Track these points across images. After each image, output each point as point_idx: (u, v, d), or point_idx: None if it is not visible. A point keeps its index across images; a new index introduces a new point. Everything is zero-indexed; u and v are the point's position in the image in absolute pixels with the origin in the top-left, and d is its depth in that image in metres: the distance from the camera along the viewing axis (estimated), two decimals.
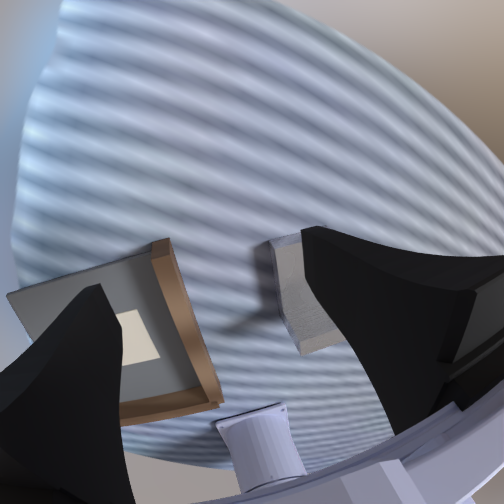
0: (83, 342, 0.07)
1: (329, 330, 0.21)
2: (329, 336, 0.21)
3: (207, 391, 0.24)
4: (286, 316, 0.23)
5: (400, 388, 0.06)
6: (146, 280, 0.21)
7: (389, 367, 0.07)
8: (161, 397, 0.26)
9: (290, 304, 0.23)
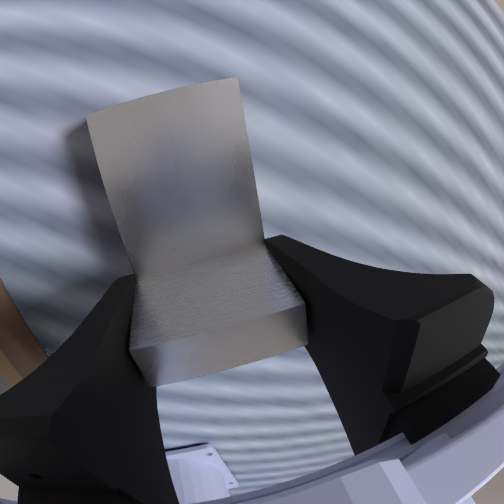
0: (124, 333, 0.07)
1: (217, 326, 0.07)
2: (220, 343, 0.08)
3: None
4: (137, 287, 0.10)
5: (354, 410, 0.06)
6: None
7: (344, 387, 0.07)
8: None
9: (149, 260, 0.10)
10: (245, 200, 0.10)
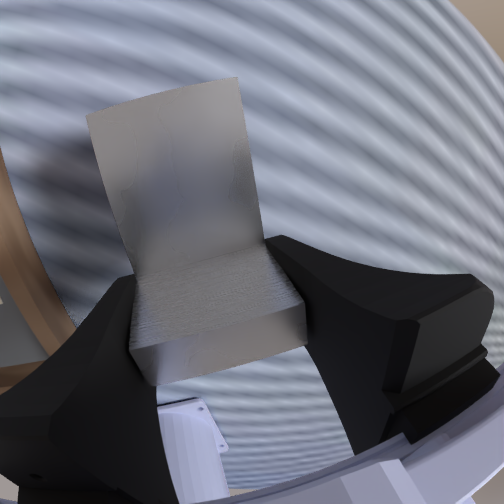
0: (124, 333, 0.07)
1: (216, 325, 0.07)
2: (219, 343, 0.08)
3: None
4: (136, 287, 0.10)
5: (354, 410, 0.06)
6: None
7: (343, 387, 0.07)
8: (22, 366, 0.16)
9: (149, 260, 0.10)
10: (245, 200, 0.10)
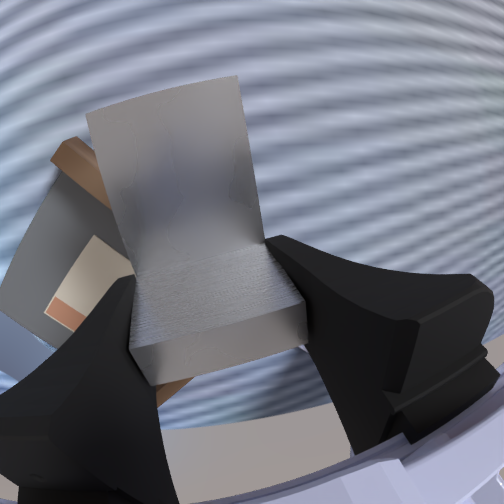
0: (124, 333, 0.07)
1: (216, 324, 0.07)
2: (219, 341, 0.08)
3: None
4: (136, 286, 0.10)
5: (354, 410, 0.06)
6: (81, 195, 0.16)
7: (343, 387, 0.07)
8: None
9: (149, 259, 0.10)
10: (245, 198, 0.10)
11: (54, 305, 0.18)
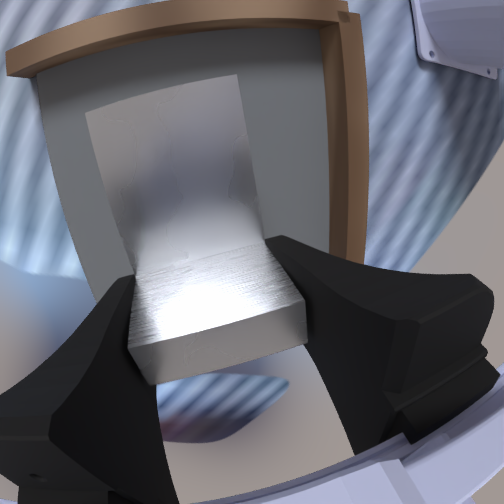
0: (124, 333, 0.07)
1: (216, 323, 0.07)
2: (219, 341, 0.07)
3: (306, 15, 0.10)
4: (136, 285, 0.09)
5: (354, 410, 0.06)
6: (72, 84, 0.11)
7: (343, 387, 0.07)
8: (328, 110, 0.14)
9: (148, 258, 0.10)
10: (244, 198, 0.10)
11: None
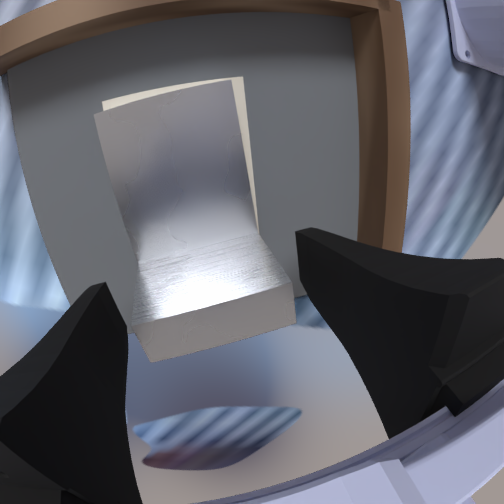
0: (89, 340, 0.07)
1: (211, 302, 0.08)
2: (214, 319, 0.08)
3: None
4: (139, 272, 0.10)
5: (393, 392, 0.06)
6: (49, 80, 0.08)
7: (382, 370, 0.07)
8: (361, 114, 0.12)
9: (151, 248, 0.11)
10: (239, 192, 0.11)
11: None
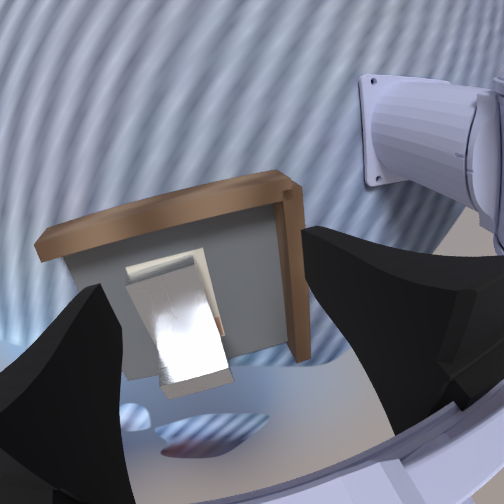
0: (83, 342, 0.07)
1: (193, 376, 0.18)
2: (195, 382, 0.18)
3: (255, 203, 0.17)
4: (158, 354, 0.20)
5: (400, 388, 0.06)
6: (90, 254, 0.18)
7: (389, 367, 0.07)
8: (280, 255, 0.21)
9: (163, 341, 0.20)
10: (205, 315, 0.20)
11: None
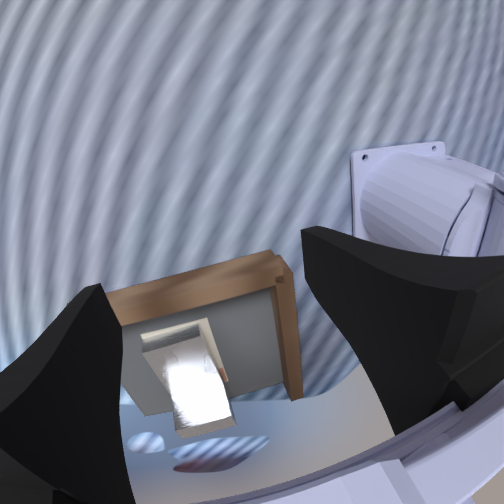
0: (83, 342, 0.07)
1: (202, 422, 0.21)
2: (204, 426, 0.21)
3: (251, 289, 0.20)
4: (172, 401, 0.23)
5: (400, 388, 0.06)
6: None
7: (389, 367, 0.07)
8: (275, 319, 0.24)
9: (176, 391, 0.23)
10: (211, 371, 0.23)
11: None
